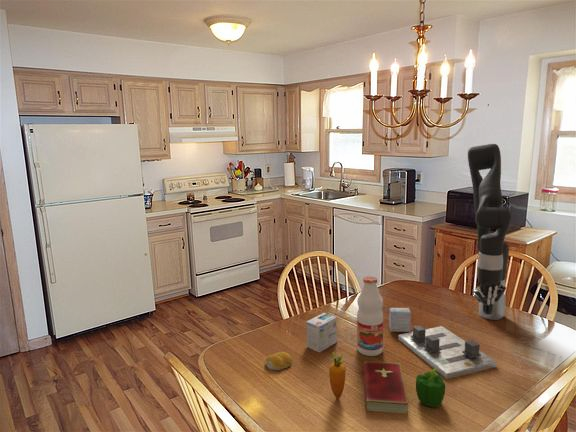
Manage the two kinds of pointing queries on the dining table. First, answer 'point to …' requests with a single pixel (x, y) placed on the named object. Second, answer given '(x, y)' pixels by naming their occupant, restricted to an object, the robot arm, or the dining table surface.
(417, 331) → the lever right
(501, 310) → the robot arm
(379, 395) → the hardcover book
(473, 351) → the lever
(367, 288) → the fruit juice
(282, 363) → the bread roll
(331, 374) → the carrot
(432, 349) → the lever middle
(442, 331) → the switch panel
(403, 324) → the medicine box
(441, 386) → the bell pepper
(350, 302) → the dining table surface
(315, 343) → the light bulb box
